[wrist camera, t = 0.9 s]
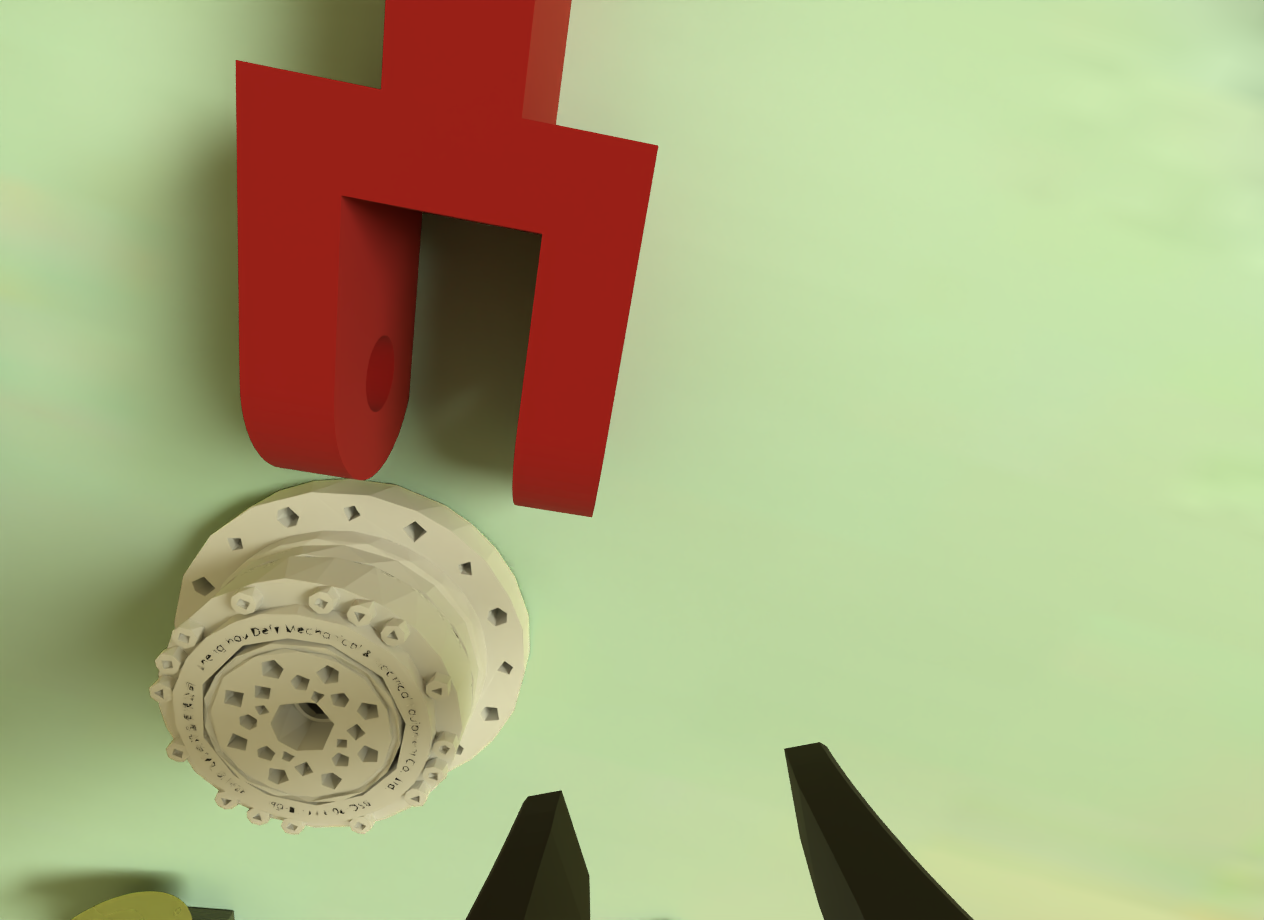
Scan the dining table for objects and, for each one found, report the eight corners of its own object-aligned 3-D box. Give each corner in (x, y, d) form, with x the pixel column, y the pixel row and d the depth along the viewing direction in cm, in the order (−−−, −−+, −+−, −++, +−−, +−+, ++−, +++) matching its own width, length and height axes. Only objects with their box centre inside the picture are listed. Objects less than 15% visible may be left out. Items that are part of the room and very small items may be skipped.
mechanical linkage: (595, 475, 18) (586, 553, 13) (344, 433, 18) (241, 500, 13) (717, -228, 13) (770, -496, 9) (374, -312, 13) (226, -648, 8)
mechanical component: (272, 412, 17) (163, 677, 20) (160, 462, 13) (41, 789, 16) (588, 571, 19) (449, 796, 22) (579, 660, 15) (408, 927, 18)
